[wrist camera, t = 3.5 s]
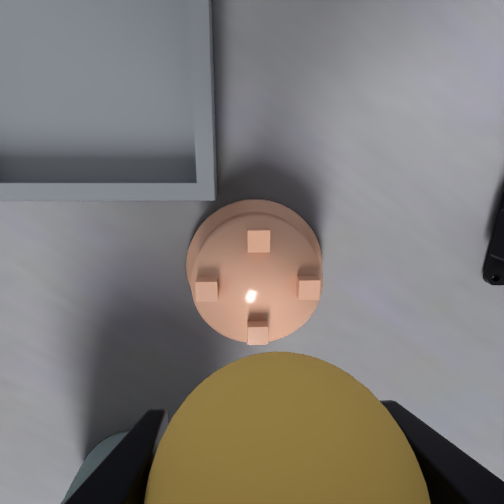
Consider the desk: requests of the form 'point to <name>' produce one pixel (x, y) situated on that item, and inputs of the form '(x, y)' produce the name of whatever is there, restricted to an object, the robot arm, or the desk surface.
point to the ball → (284, 440)
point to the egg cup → (255, 271)
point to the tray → (107, 100)
